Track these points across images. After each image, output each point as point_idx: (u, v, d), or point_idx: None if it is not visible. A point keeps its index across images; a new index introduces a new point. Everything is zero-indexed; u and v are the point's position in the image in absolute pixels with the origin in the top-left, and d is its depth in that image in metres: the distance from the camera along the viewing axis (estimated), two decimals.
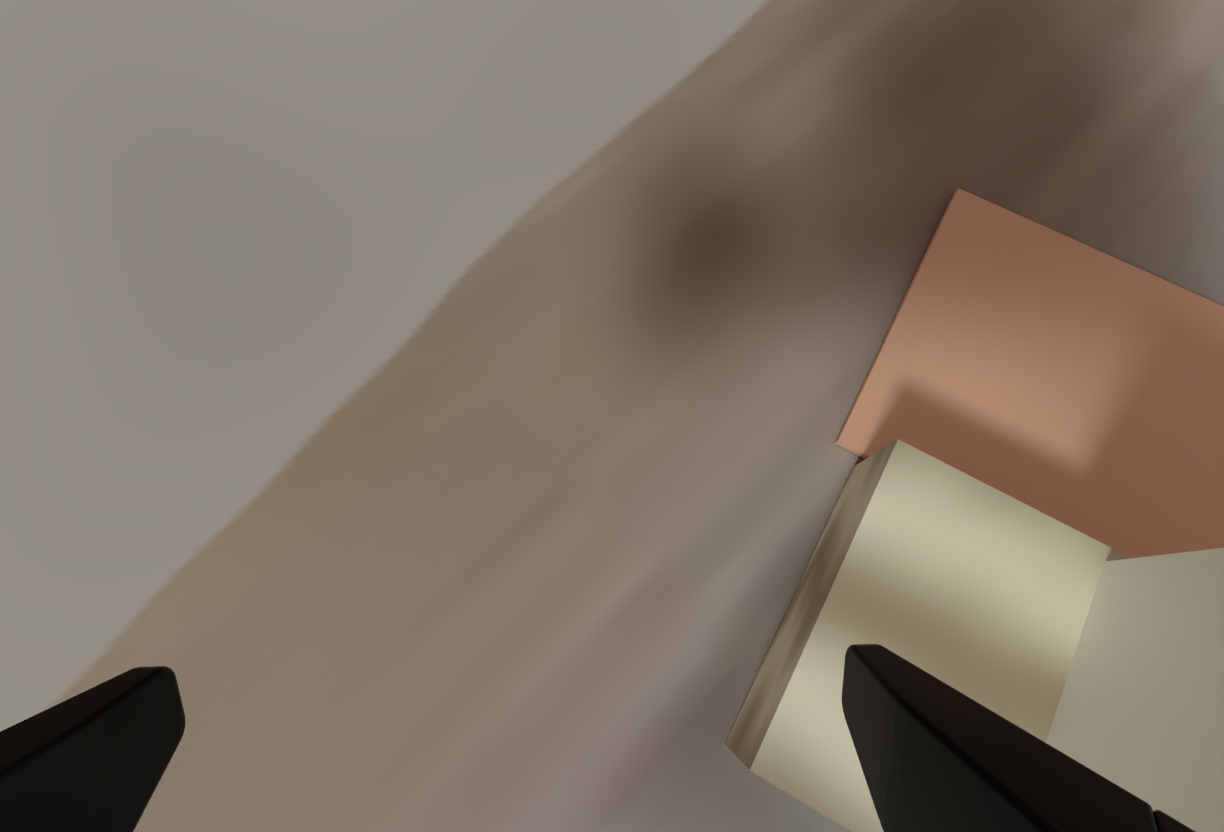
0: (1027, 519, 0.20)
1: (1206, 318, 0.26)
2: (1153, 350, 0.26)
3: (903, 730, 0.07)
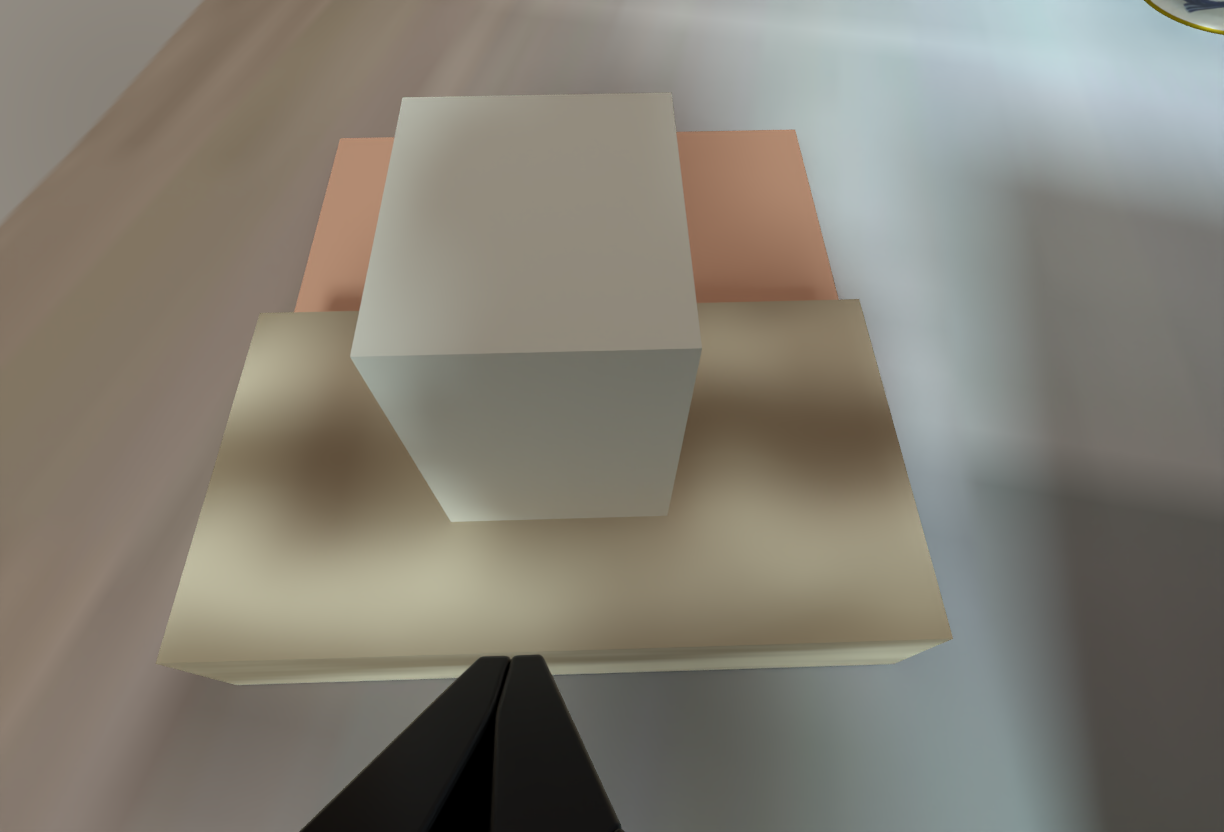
0: None
1: None
2: None
3: None
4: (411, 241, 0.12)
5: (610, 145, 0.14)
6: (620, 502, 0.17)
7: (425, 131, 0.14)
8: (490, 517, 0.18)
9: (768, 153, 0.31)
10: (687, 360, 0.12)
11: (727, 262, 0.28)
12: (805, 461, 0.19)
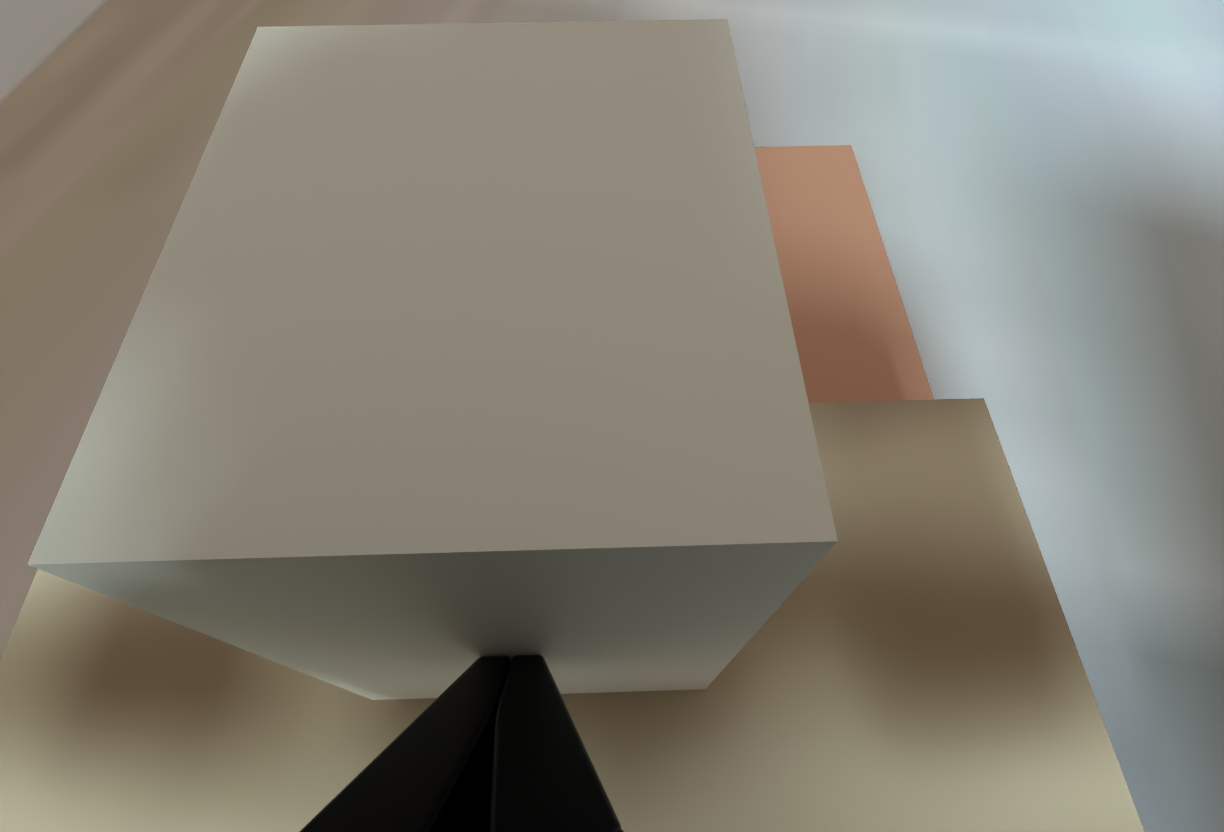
0: None
1: None
2: None
3: None
4: (222, 288, 0.06)
5: (621, 106, 0.07)
6: (634, 682, 0.11)
7: (287, 82, 0.08)
8: (432, 696, 0.12)
9: (818, 175, 0.24)
10: (797, 556, 0.05)
11: None
12: (930, 679, 0.12)
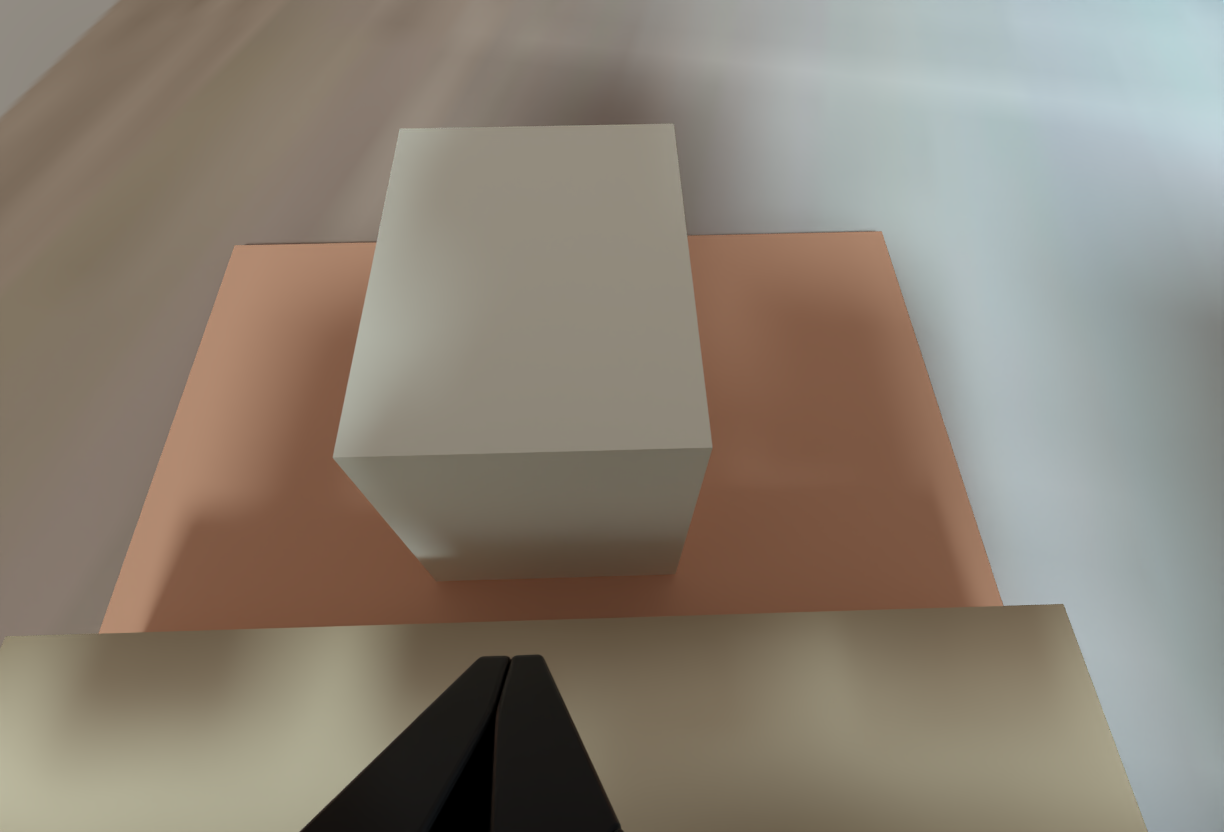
0: (243, 653, 0.12)
1: None
2: None
3: None
4: None
5: None
6: (626, 391, 0.11)
7: None
8: (407, 441, 0.10)
9: (846, 269, 0.21)
10: (665, 135, 0.14)
11: (800, 455, 0.18)
12: None
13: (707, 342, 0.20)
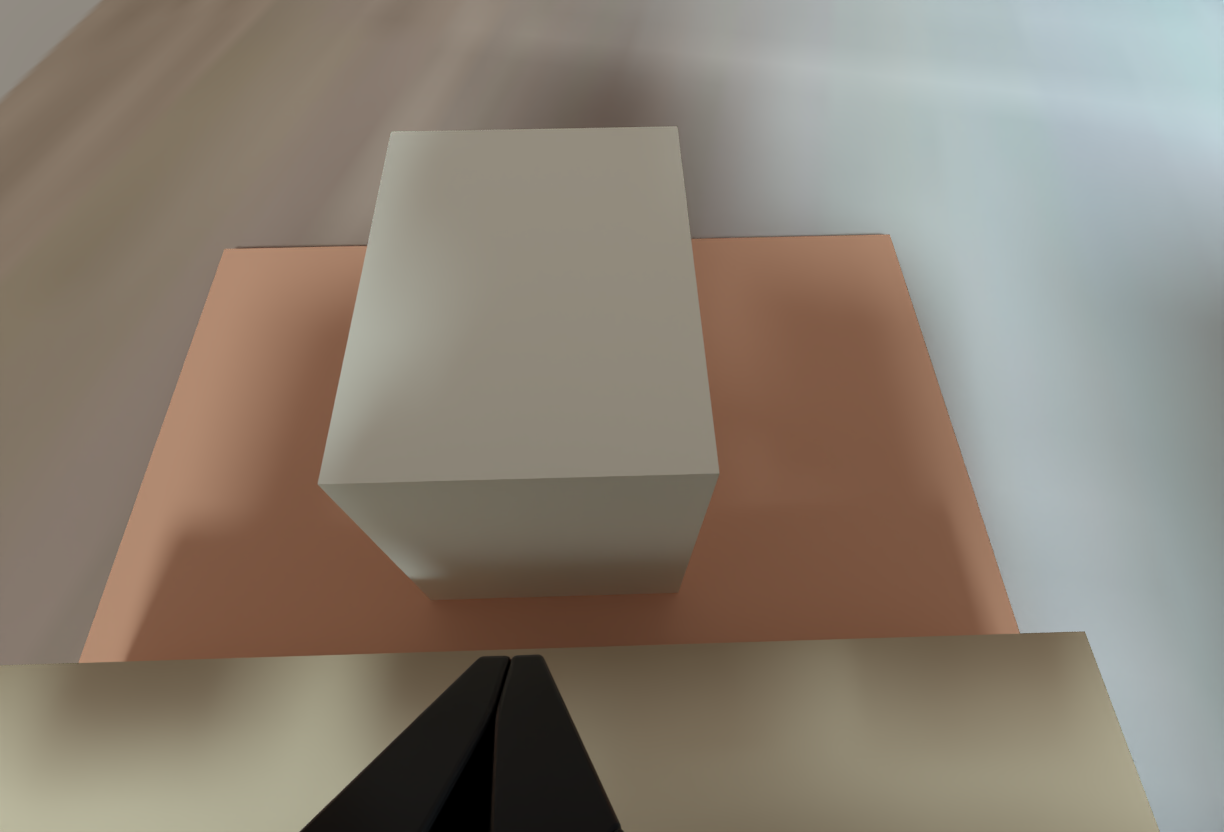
0: (226, 684, 0.12)
1: None
2: None
3: None
4: None
5: None
6: (628, 412, 0.10)
7: None
8: (396, 466, 0.10)
9: (853, 273, 0.21)
10: (668, 138, 0.14)
11: (807, 468, 0.18)
12: None
13: (710, 350, 0.19)
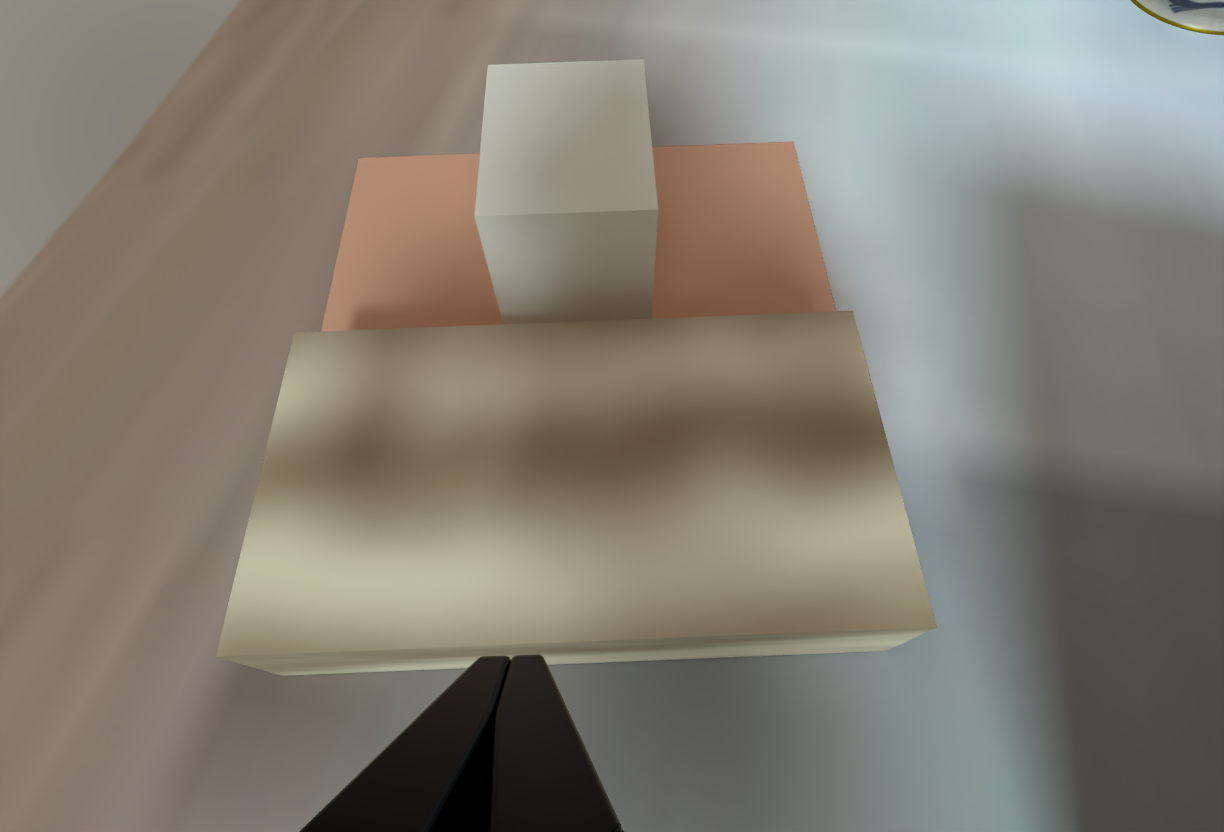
0: (419, 337, 0.23)
1: None
2: None
3: None
4: None
5: None
6: (616, 187, 0.22)
7: None
8: (509, 209, 0.21)
9: (767, 165, 0.32)
10: (638, 65, 0.25)
11: (729, 273, 0.29)
12: (801, 465, 0.21)
13: (673, 210, 0.31)
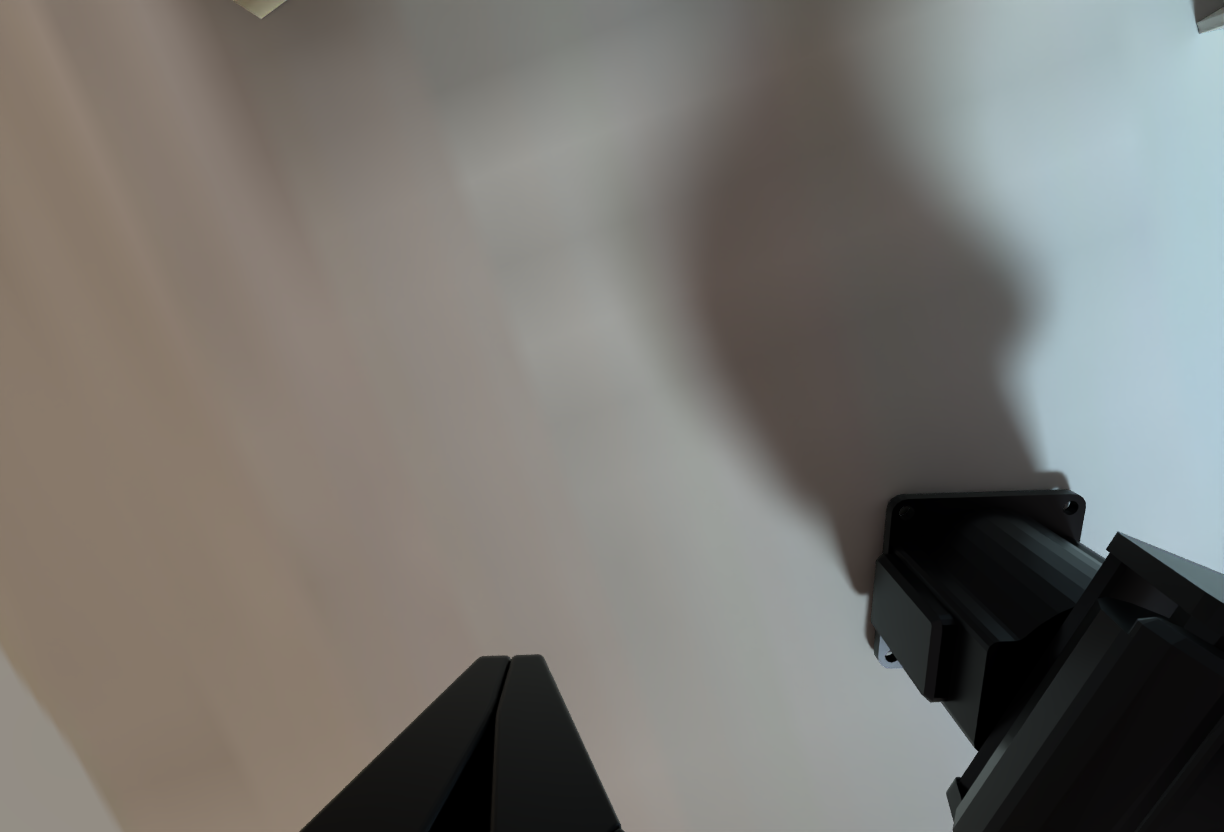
0: None
1: None
2: None
3: None
4: None
5: None
6: None
7: None
8: None
9: None
10: None
11: None
12: None
13: None
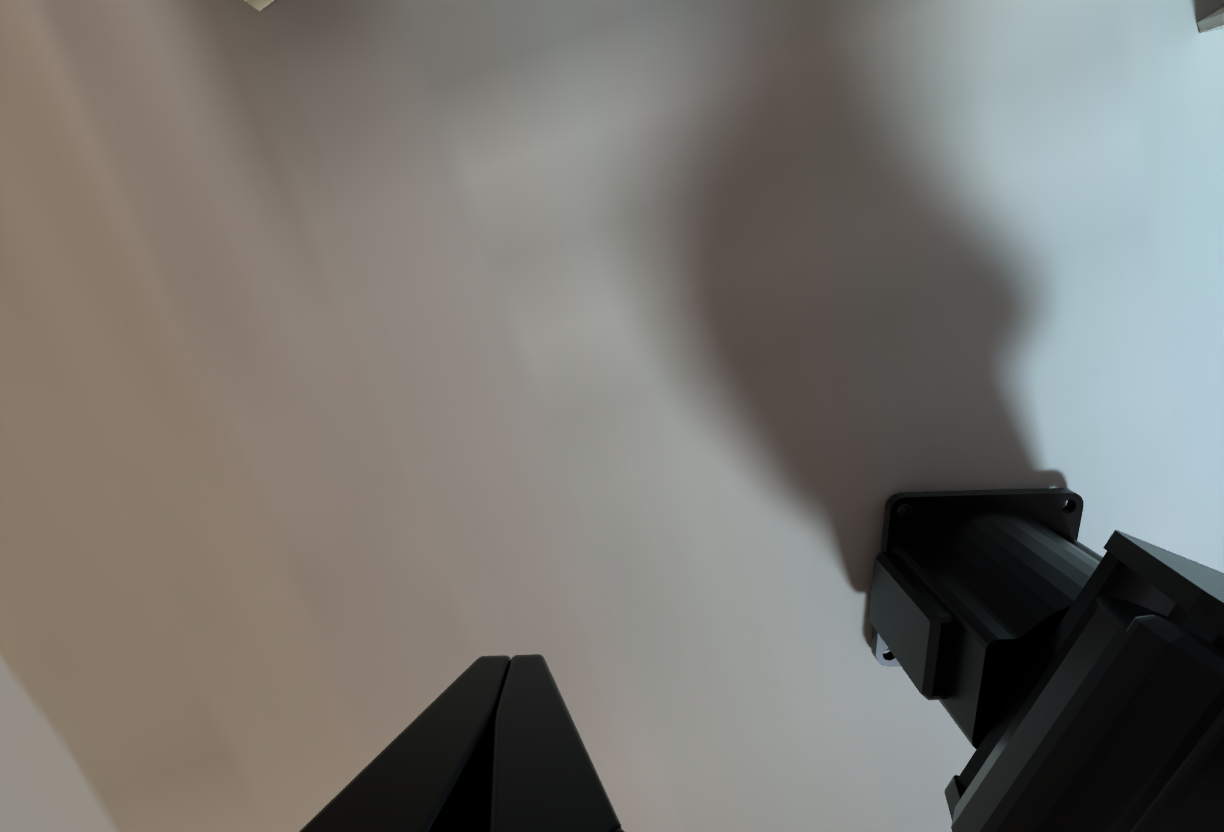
0: None
1: None
2: None
3: None
4: None
5: None
6: None
7: None
8: None
9: None
10: None
11: None
12: None
13: None
